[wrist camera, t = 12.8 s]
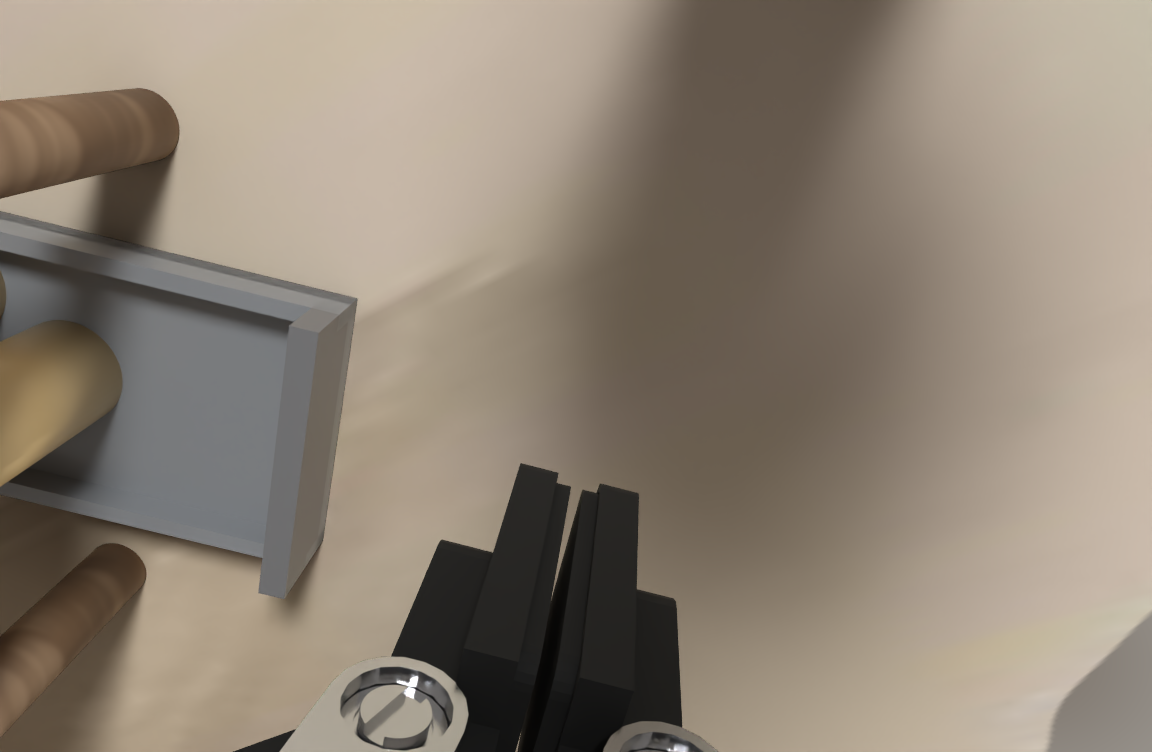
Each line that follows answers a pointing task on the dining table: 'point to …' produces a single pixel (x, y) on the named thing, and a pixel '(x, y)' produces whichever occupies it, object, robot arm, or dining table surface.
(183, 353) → the tray
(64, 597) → the low table
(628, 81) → the dining table surface
